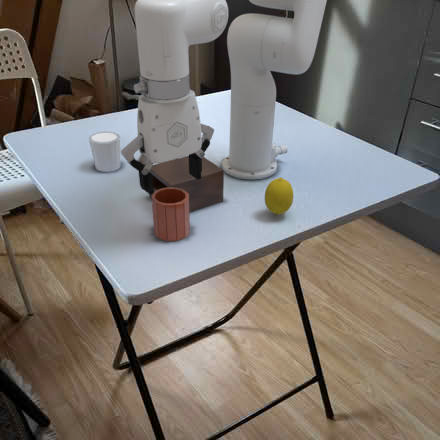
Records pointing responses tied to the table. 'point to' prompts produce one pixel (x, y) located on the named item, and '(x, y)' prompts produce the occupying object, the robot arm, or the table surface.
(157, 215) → the cup
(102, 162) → the white short cylinder
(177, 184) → the shelf
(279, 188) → the lemon
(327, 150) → the table surface
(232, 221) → the table surface
